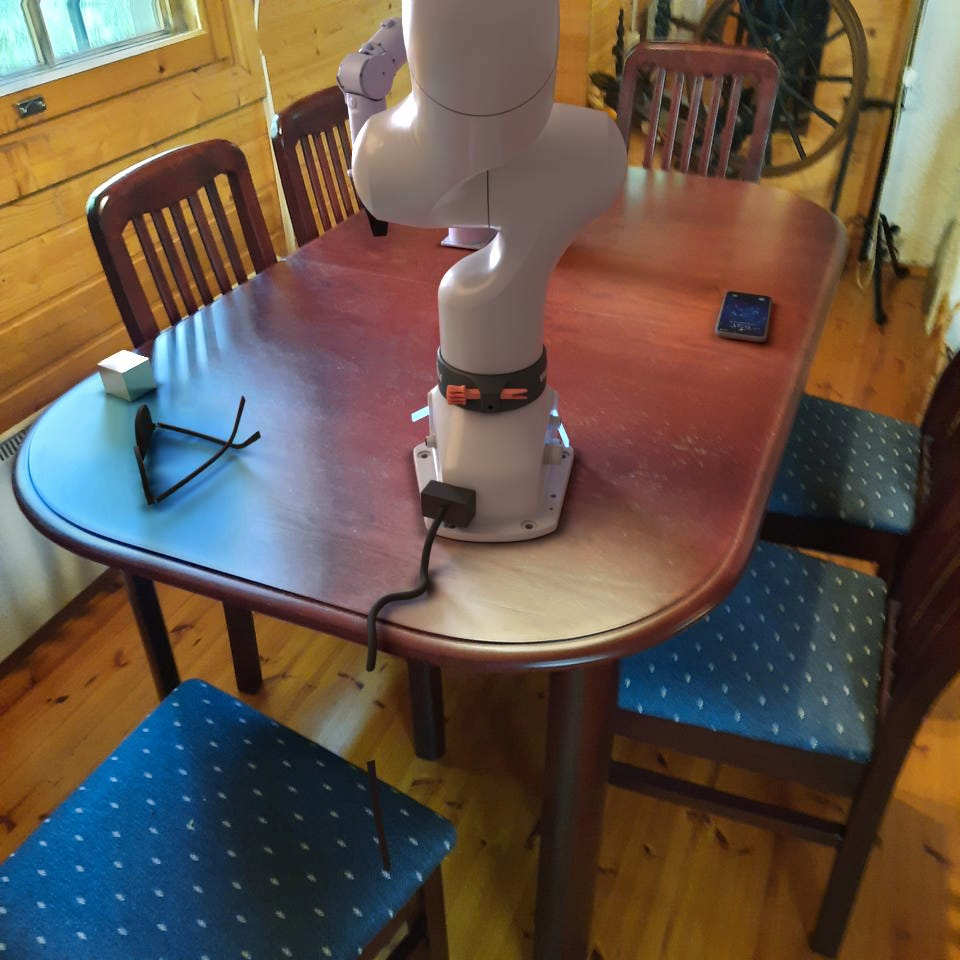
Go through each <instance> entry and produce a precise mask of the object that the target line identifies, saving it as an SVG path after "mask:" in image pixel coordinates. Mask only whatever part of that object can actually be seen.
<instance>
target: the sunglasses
mask: <svg viewBox="0 0 960 960" xmlns="http://www.w3.org/2000/svg"><path fill="white" fill-rule="evenodd" d="M245 404H246V398H245V396H244V395H241V396H240V401H239V405H238V408H237V409H238V410H237V413H236V417H235V421H234V425H233V429H232V432H231V435H230V437H229V439H228V440H227V441H226V440H223V439H220V438H217V437H214V436H211V435H208V434H204V433H201V432H198V431H195V430H192V429H188V428H184V427H180V426H176V425H172V424H169V423H164V422H159V421H157V422H153V418H152V414H151V411H150V408H149V406H148V404H146V403H142V404H140V405H139V406H138V409H137V411H136V413H135V418H134V436H135V444H136V445H133V447H132V448H133V452H134V455H135V460H136V463H137V467H138V471H139V475H140V479H141V485H142V489H143V493H144V497H145V500H146V503H147V505H148V506H151V505H154V504H155V501H156V503H157V504H160V503H162V501H164V500H165V499H167V498H168V497H170V496H171V495H172V494H174V493H175V492H177V491H178V490H179V489H181V488H182V487H184V486H185V485H187V484H188V483H189V482H191V481H192V480H193V479H194V478H196V477H197V476H198V475H200V474H202V473H203V472H204V471H205V470H206V469H208V467H210V466H211V465H212V464H213V463H215V462H216V461H217V460H218V459H220V457H222V455H223V454H224V453H225V452H226V451H228V449H229V448H231V449H233V450H242V449H246V448H247V447H249V446H250V445H252V444H254V443H255V442H256V441H258V440H260V439H261V438H262V435H261V432H260V430H256V431H255V432H254V433H253V434H252V435H250V436H249V437H248V438H247V439H246V440H245V441H244V442H241V443H233V442H234V441H235V438H236V435H237V434H238V429H239V426H240V423H241V419H242V415H243V412H244V409H245ZM157 428H160V429H164V430H168V431H172V432H175V433H179V434H183V435H188V436H191V437H195V438H199V439H202V440H205V441H209V442H211V443H215V444H218V445H221V446H223V447H221V449H220V450H219V451H217V452H216V453H215V454H214V455H213V456H212V457H211V458H209V459H208V460H207V461H206V462H204V463H203V464H202V465H200V466H199V467H198V468H196V469H195V470H193V471H192V472H191V473H189V474H188V475H187V476H186V477H184V478H183V479H180V481H178V482H177V483H176V484H174V485H172V486H171V487H169V488H168V489H166V490H165V491H163V492H162V493H161V494H160V495H158V496H157V497H154V495H152V491H151V487H150V484H149V479H148V474H147V470H146V467H145V463H144V461H145V459H146V456H147V453H148V450H149V448H150V445H151V442H152V438H153V435H154V432H155V430H157Z"/></svg>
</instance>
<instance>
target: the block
mask: <svg viewBox="0 0 960 960" xmlns="http://www.w3.org/2000/svg"><path fill="white" fill-rule="evenodd" d="M150 361H151V360H150V359H149V357H145V356H142V355H138V354H137V353H133V352H131V351H127V350H125V349H124V350H121V351H119V352H117V353H115V354H113V355H111V356H109V357H108V358H105V359H104V360H101V361H100V362H98V363H96V367H97V370H98V373H99V376H100V379H101V382H102V385H103V388H104V391H105V393H107V394H109V395H112V396H115V397H117V398H119V399H122V400H125V401H128V402H133V401H135V400H137V399H138V398H140V397H142V396H144V395H145V394H147V393H148V392H150V391H152V390H155V388H158V387H157V383H156V380H155V376H154V373H153V369H152V365H151V362H150Z"/></svg>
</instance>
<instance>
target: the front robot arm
mask: <svg viewBox="0 0 960 960" xmlns="http://www.w3.org/2000/svg"><path fill="white" fill-rule="evenodd" d="M401 14H402V17H401V18H402V22H403V33H404V40H405V47H406V53H407V59H408V60H407V63H408V68H409V69H408V70H409V75H410V81H411V91H410V93H409V94H408V95H407V96H406V97H404V98H403V99H402V100H401V101H399V102H398V103H396V104H395V105H393V106H391V107H389V108H387V110H385V111H382V112H380V113H377V114H374V115H372V116H371V117H370V118H369V119H368V120H367V121H366V123H365V124H364V125H363V127H362V129H361V130H360V132H359V134H358V136H357V139H356V141H355V144H354V148H353V147H352V154H351V169H352V176H353V177H352V181H353V184H354V188H355V190H356V193H357V196H358V195H359V197H360V199H361V201H362V203H363V204H364V205H365V207H366V208H367V210H368V211H369V212H370V213H371V214H372V215H373V216H374V217H375V218H376V219H378V220H382V221H387V222H388V223H392V224H397V225H400V226H401V225H402V226H408V227H413V228H418V229H449V228H489V221H490V228H494V229H496V230H498V233H497V235H496V236H495V237H494V238H493V239H492V240H491V241H490V242H489V243H488V244H487V245H486V246H485V247H484V248H482V249H480V250H477V251H474V252H473V253H471V254H468V255H466V256H465V257H463V258H460V260H458V261H457V262H455V264H454V265H452V266H451V267H450V268H449V269H448V270H447V271H446V273H445V274H444V275H443V277H442V278H441V281H440V283H439V286H438V290H437V307H438V324H439V326H438V327H439V340H440V341H439V342H440V345H439V346H438V348H437V354H436V356H437V358H436V363H435V364H436V376H437V384H436V385H435V387H434V386H433V388H432V389H431V390H430V391H428V392H427V406H424V407H423V408H421V409H419V410H417V411H415V412H413V413H411V421H412V422H416V421H418V420H420V419H423V418H424V417H426V416H428V424H429V435H426V436H425V438H424V442H422V443H419V444H417V445H416V446H415V447H414V448H413V454H412V455H413V457H412V458H413V464H414V470H415V475H416V476H415V477H416V480H417V487H418V492H419V498H420V499H419V500H420V506H421V516H422V517H423V522H424V526H425V529H426V530H427V531H428V532H427V534H426V537H425V540H424V543H423V547H422V553H421V559H420V566H419V579H420V585H419V586H418V587H417V588H414V589H412V590H409V591H407V590H406V591H400V592H399V591H398V592H392V593H388V594H385V595H383V596H381V597H380V598H379V599H378V600H377V601H376V602H375V603H374V604H373V605H372V606H371V608H370V610H369V612H368V615H367V618H366V631H367V655H366V656H367V657H366V665H365V670H366V672H368V673H372V672H373V671H375V669H376V664H377V657H378V656H377V655H378V636H377V633H378V632H377V617H378V614H379V613H380V612H381V611H382V610H383V608H384V607H385V606H387V605H388V604H390V603H394V602H401V601H409V600H414V599H418V598H419V597H421V596H423V595H424V594H425V593H426V592H427V591H428V589H429V586H430V579H429V566H430V559H431V552H432V548H433V544H434V541H435V538H436V535H437V536H440V537H443V538H448V539H452V540H457V541H466V542H477V543H478V542H480V543H500V542H501V543H502V542H503V543H506V542H518V541H527V540H531V539H536V538H539V537H543V536H546V535H548V534H550V533H552V532H554V531H556V530H557V527H558V525H559V520H560V518H561V517H560V516H561V512H562V508H563V504H564V500H565V497H566V492H567V488H568V483H569V480H570V476H571V472H572V469H573V468H572V467H573V464H574V459H575V450H574V447H573V446H571V445H570V439H569V438H568V435H567V433H566V430H565V428H564V426H563V424H562V416H559V392H557V391H556V390H555V389H554V388H553V387H552V386H551V385H550V384H549V383H548V382H547V379H548V367H549V361H548V356H547V355H548V354H547V353H548V351H547V347H546V345H545V344H544V332H545V331H544V330H545V329H544V328H545V316H546V307H547V298H548V292H549V287H550V282H551V279H552V276H553V274H554V272H555V269H556V267H557V265H558V264H559V262H560V260H561V259H562V257H563V255H564V254H565V252H566V251H567V249H568V248H569V247H570V246H571V245H572V243H573V242H574V241H575V240H576V239H577V238H578V237H579V236H580V235H581V234H582V233H583V232H584V231H585V230H586V229H587V228H589V227H590V226H591V225H593V224H594V223H596V222H597V221H599V220H601V218H603V217H604V216H605V215H606V214H608V212H610V210H611V209H612V207H613V206H614V205H615V203H616V202H617V201H618V199H619V197H620V194H621V193H622V191H623V188H624V186H625V182H626V179H627V172H628V152H627V147H626V143H625V139H624V136H623V135H622V132H621V130H620V128H619V127H618V125H617V123H616V122H615V121H614V119H613V118H612V117H611V116H610V114H608V113H607V112H606V111H603V110H598V109H595V108H589V107H585V106H580V105H575V104H568V103H564V102H563V103H562V102H554V101H555V93H556V82H557V81H556V80H557V71H558V61H559V60H558V59H559V51H560V50H559V49H560V48H559V47H560V37H561V35H560V34H561V12H560V0H401ZM558 433H559V434H560V437H561V439H562V441H561V439H560V438H558ZM366 770H367V772H366V773H367V781H368V788H369V795H370V802H371V809H372V814H373V821H374V825H375V831H376V836H377V842H378V848H379V852H380V858H381V862H382V868H383V867H384V868H383V871H384V870H386V871H389V870H390V869H391V870H392V865H391V859H390V854H389V849H388V848H389V847H388V842H387V838H386V831H385V827H384V820H383V815H382V814H383V813H382V808H381V802H380V801H381V800H380V794H379V785H378V778H377V777H378V776H377V768H376V759H372V760H367V761H366Z"/></svg>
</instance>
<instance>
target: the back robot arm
mask: <svg viewBox="0 0 960 960" xmlns="http://www.w3.org/2000/svg"><path fill="white" fill-rule="evenodd" d="M380 26H381V27H380V28H379V29H378V30H377V31H376V32H375V33H374V34H373V35H372V36H371V37H370V38H369V40H368V41H364V42H363V43H362V44H361V46H360V47H361V48H360V49H359V51H358V52H350V53H348V54H347V55H346V56H344V57H343V59H342V60H341V61H340V64H339V66H338V71H337V75H336V76H335V80H336V83H337V86H338V88H339V89H340V91H341V92H342V93H343V95H344V103H345V104H346V105H347V109H348V118H349V119H348V120H349V129H350V136H351V145H352V146H351V147H352V149H353V148H354V144H355V141H356V139H357V136H358V134H359V132H360V130H361V129H362V127H363V125H364V124H365V123H366V121H367V120H368V119H369V118H370V117H371V116H372V115H374V114H377V113H380V112H382V111H385V110H387V109H388V107H387V97H386V96H387V95H389V94H390V93H391V90H392V89H393V83H394V79H395V77H396V76H397V73H398V71H399V70H400V69H401V68H402V67H403V66H404V65H405V64H406V63H407V62H408V59H407V53H406V47H405V40H404V33H403V22H402V17H398V16H392V17H390V18H384V19H383V20H382V21H381V22H380ZM347 177H348V178H353V176H352V168H351V169H350V168H349V169H347ZM357 199H358V200H359V202H360V204H361V205H362V207H363V209H364V211H365V214H366V216H367V219H368V224H369V227H370V230H371V234H372V236H373V237H374V238H378V237H379V238H380V237H387V236H388V230H389V222H387V221H382V220H378V219H376V218H375V217H374V216H373V215H372V214H371V213H370V212H369V211H368V210H367V208H366V207H365V205H364V204H363V203H362V201H361V199H360V197H359V195H358V194H357ZM497 233H498V230H496V229H494V228H490V221H489V228H448V235H447V236H446V237H445V238H444V239H442V241H440V245H441V246H446V247H452V248H453V247H454V248H463V249H470V250H471V249H472V250H477V251H479V250H480V249H482V248H484V247H485V246H487V245H488V244H489V243H490V242H491V241H492V240H493V239H494V238H495V237H496V235H497Z"/></svg>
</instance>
